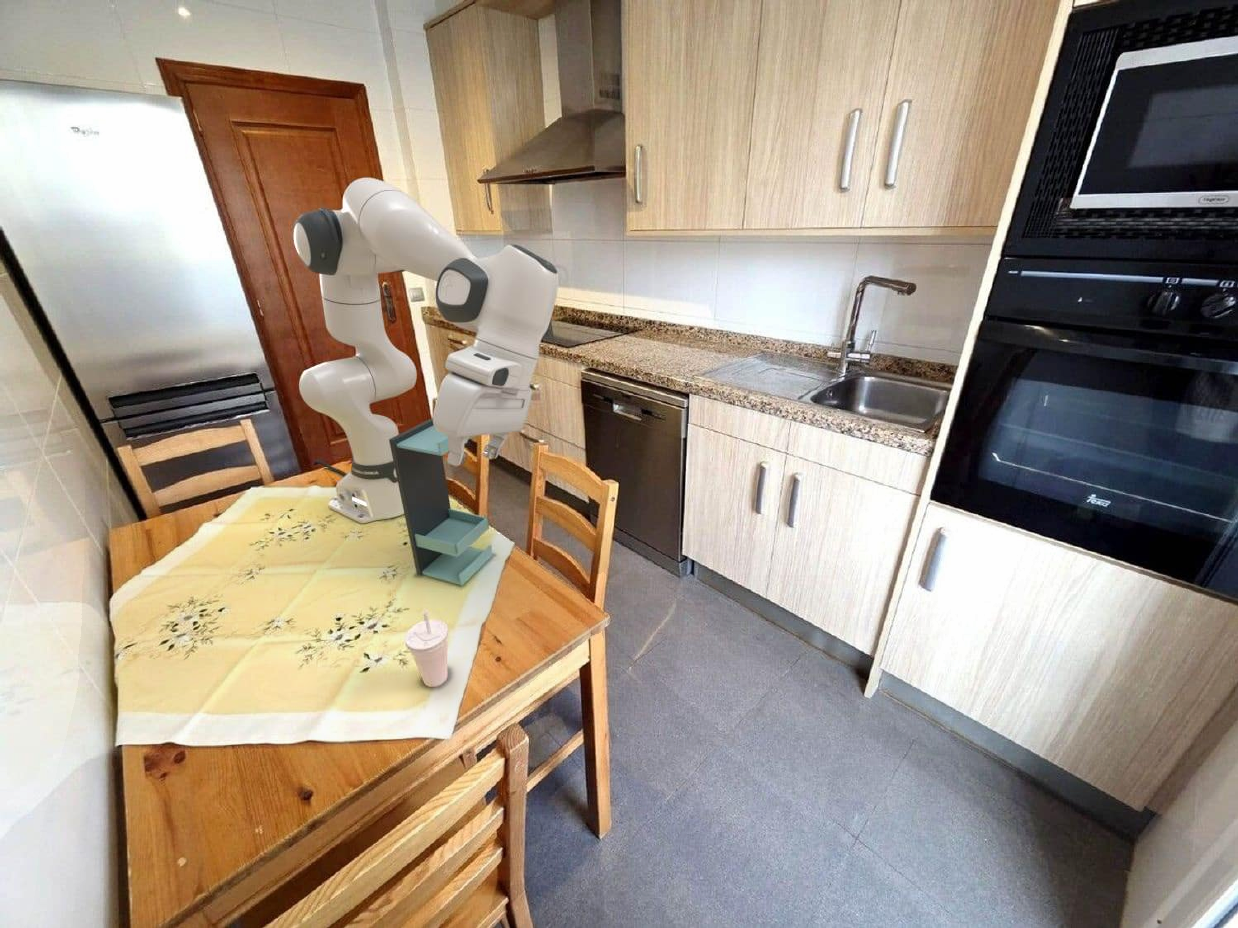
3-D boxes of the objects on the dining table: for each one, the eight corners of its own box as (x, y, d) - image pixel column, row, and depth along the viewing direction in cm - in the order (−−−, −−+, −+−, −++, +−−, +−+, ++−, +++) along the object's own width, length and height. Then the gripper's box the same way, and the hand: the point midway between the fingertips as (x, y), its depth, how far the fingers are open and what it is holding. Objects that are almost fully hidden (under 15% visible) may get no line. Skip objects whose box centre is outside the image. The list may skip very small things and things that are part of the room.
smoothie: (443, 697, 79) (430, 630, 73) (406, 690, 80) (390, 623, 74) (463, 665, 84) (451, 600, 78) (428, 659, 85) (414, 594, 79)
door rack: (416, 574, 105) (387, 434, 91) (452, 543, 116) (431, 413, 101) (460, 587, 102) (437, 443, 88) (493, 554, 112) (477, 420, 98)
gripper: (514, 367, 80) (489, 447, 83) (439, 354, 61) (410, 459, 63) (549, 380, 79) (522, 461, 82) (484, 371, 59) (452, 478, 62)
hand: (473, 460), depth 72 cm, fingers open, 8 cm apart
